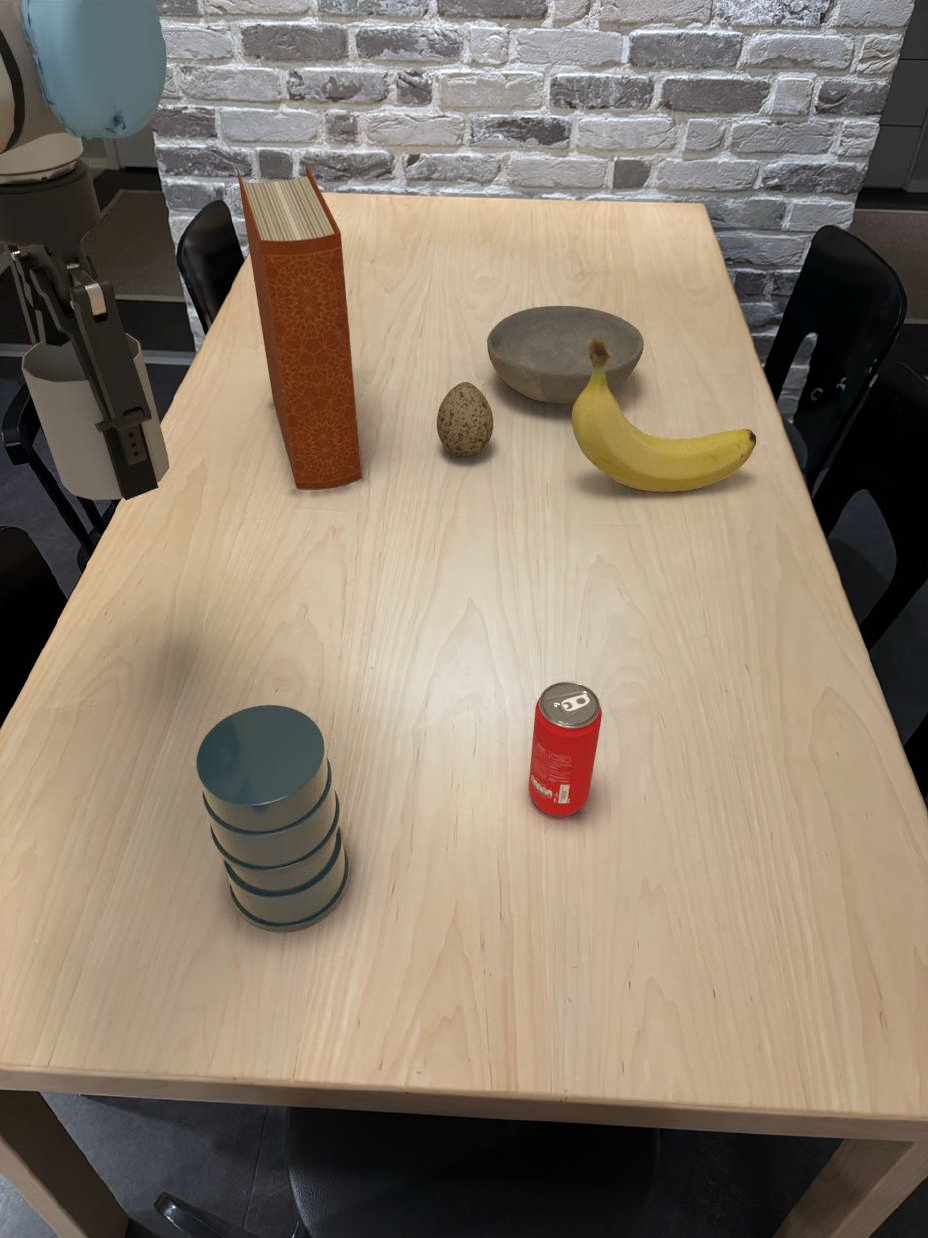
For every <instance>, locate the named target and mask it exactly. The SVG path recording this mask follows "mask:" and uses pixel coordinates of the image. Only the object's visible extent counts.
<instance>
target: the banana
mask: <svg viewBox="0 0 928 1238" xmlns="http://www.w3.org/2000/svg"><path fill="white" fill-rule="evenodd" d="M588 349H589V354H588V358H589V359H590V361H591V363H592V366H593V372H592V376H591V379H590V381H589V383H588V385H587V387H586V388H585V389H584V390H583V392H582V393H581V394H580V396H579V397H578V399H577V400H576V402H575V403H573V408H572V412H571V427H572V433H573V435H574V438H575V441H576V443H577V445H578V447H579V448H580V450H581V452H582V454H583V455H584V456H585V458H586V459H587V460H588V461H589V462H590V463H592V465H593V466H594V467H595V468H597V469H598V470H599V471H601V472H602V473H603V474H604V475H606V476H607V477H609V478H611V479H612V480H614V481H616V482H618V483H620V484H622V485H624V486H627V487H629V488H632V489H636V490H640V491H645V492H657V493H658V492H662V493H666V492H667V493H668V492H669V493H670V492H671V493H672V492H683V491H691V490H696V489H700V488H704V487H707V486H709V485H713V484H716V483H718V482H720V481H722V480H724V479H726V478H728V477H731V475H732V474H734V473H736V472H737V471H738V470H740V469H741V467H743V465H744V464H745V463H746V462H747V461H748V460H749V458H750V457H751V455H752V453H753V451H754V449H755V447H756V445H757V436H756V434H755V433H754V432H753V430H751V429H749V428H743V429H742V428H741V429H734V430H726V431H721V432H716V433H711V434H707V435H703V436H699V437H691V438H690V437H689V438H664V437H657V436H654V435H651V434H648V433H645V432H644V431H641V430H640V429H639V428H637V427H636V426H634V425H633V424H632V423H631V422H630V421H629V420H628V419H627V417H626V416H625V414H624V412H622V410H621V408H620V406H619V404H618V403H617V401H616V399H615V397H614V396H613V394H612V391H611V392H610V390H609V388H608V386H607V382H606V376H605V365H606V362H607V360H608V359H609V358H611V357H612V354H611V352H610V351H609V350H608V349H606V347H605V343H604V340H603V339H602V338H596V337H595V338H594V337H593V338H591V339H589V340H588Z"/></svg>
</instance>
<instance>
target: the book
mask: <svg viewBox="0 0 928 1238" xmlns="http://www.w3.org/2000/svg"><path fill="white" fill-rule="evenodd" d="M304 166H305V176H303V177H298V178H294V179H286V180H279V181H278V180H275V181H267V182H253V181H252V182H251V181H250V182H249V181H248V182H247V181H243V179H242V176H241V173H240V170H236V172H237V178H238V179H237V180H238V185H239V191H240V197H241V204H242V210H243V211H242V212H243V218H244V223H245V224H244V225H245V230H246V237H247V242H248V248H249V249H248V250H249V256H250V262H251V268H252V276H253V282H254V287H255V293H256V300H257V307H258V313H259V321H260V326H261V332H262V339H263V346H264V351H265V358H266V365H267V371H268V379H269V384H270V389H271V396H272V402H273V405H274V410H275V413H276V417H277V421H278V424H279V428H280V433H281V436H282V439H283V444H284V447H285V451H286V455H287V459H288V462H289V466H290V470H291V474H292V478H293V480H294V485H295V488H296V489H301V490H326V489H332V488H333V489H334V488H338V487H342V486H346V485H348V484H351V483H354V482H357V481H359V480H361V479H363V473H362V462H361V451H360V450H361V449H360V442H359V441H360V439H359V427H358V426H359V425H358V416H357V404H356V393H355V380H354V369H353V357H352V346H351V336H350V335H351V334H350V324H349V323H350V322H349V311H348V299H347V290H346V278H345V277H346V275H345V265H344V254H343V242H342V232H341V229H340V227H339V226H338V223H337V222H336V220H335V217H334V215H333V214H332V212H331V210H330V208H329V205H328V203H327V201H326V200H325V198H324V195H323V193H322V191H321V189H320V188H319V186H318V183H317V181H316V180H315V178H314V175H313V173H312V171H311V169H310V168H309V165H308V164H305V165H304Z"/></svg>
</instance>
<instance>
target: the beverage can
mask: <svg viewBox="0 0 928 1238" xmlns="http://www.w3.org/2000/svg"><path fill="white" fill-rule="evenodd" d="M602 718H603V710H602V707H601V703H600V700H599V698H598V696H597V694H596V693H595V692H594V691H593V690H592V689H590V688H589V686H586V685H584V684H582V683H579V682H575V681H561V682H559V681H558V682H556V683H553V684H551V685H549V686H548V687H546V688H545V689H544V690H543V691H542V693H541V694H540V697H539V698H538V700H537V701H536V704H535V708H534V720H533V731H532V743H531V744H532V745H531V753H530V766H529V767H530V768H529V776H528V777H529V778H528V791H529V795H530V797H531V799H532V800H533V802H534V804H535V806H536V807H537V809H539V810H540V811H541V812H542V813H544V814H546V815H548V816H551V817H555V818H564V817H568V816H572V815H573V814H575V813H576V812H578V811H579V810H580V809H581V808H582V807H583V806H584V805H585V804H586V802H587V801H588V798H589V796H590V792H591V791H590V790H591V783H592V778H593V773H594V767H595V761H596V754H597V749H598V742H599V736H600V730H601V723H602Z"/></svg>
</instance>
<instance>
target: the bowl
mask: <svg viewBox="0 0 928 1238" xmlns="http://www.w3.org/2000/svg"><path fill="white" fill-rule="evenodd" d="M593 337H594V338H595V337H596V338H602V339H603V340H604V343H605V347H606V349H608V350H609V351H610V352H611V354H612V357H611V358H609V359H608V360H607V362H606V365H605V376H606V382H607V386H608V388H609V390H610V392H611V393H612V392H613V391H614V390H616V389H618V388H619V387H620V386H621V385H623V384H624V383H625V381H626V380H627V379H628V378H629V377H630V376H631V374H632V373H633V371H634V370H635V368H636V367H637V365H638V364H639V361H640V360H641V357H642V355H643V353H644V352H643V351H644V346H645V344H644V338H643V335H642V333H641V332H640V330H639V329H638V328H637V327H636V326H635V325H633V324H632V323H630V322H629V321H627V320H625V319H624V318H622V317H620V316H617V315H615V314H613V313H610V312H607V311H604V310H599V309H594V308H590V307H583V306H575V305H545V306H535V307H531V308H527V309H523V310H521V311H517V312H514V313H512V314H510V315H507V316H506V317H505V318H503V319H502V320H500V321H499V322H498V323H497V324H496V325H495V326H493V328H492V329H491V331H490V332H489V334H488V336H487V338H486V343H487V347H486V348H487V353H488V354H487V355H488V359H489V360H490V363H491V365H492V368H493V369H494V371H495V373H497V375H498V376H499V377H500V378H501V380H503V381H504V382H505V383H506V384H507V385H508V386H509V387H511V388H512V389H513V390H514V391H517V392H519V393H520V394H522V395H524V396H525V397H527V398H529V399H530V400H531V399H532V400H534V401H538V402H546V403H550V404H551V403H552V404H575V402H576V400H577V399H578V397H579V396H580V394H581V393H582V392H583V390H584V389H585V388H586V387H587V385H588V383H589V381H590V379H591V376H592V372H593V366H592V363H591V361H590V359H589V358H588V354H589V349H588V340H589V339H591V338H593Z"/></svg>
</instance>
